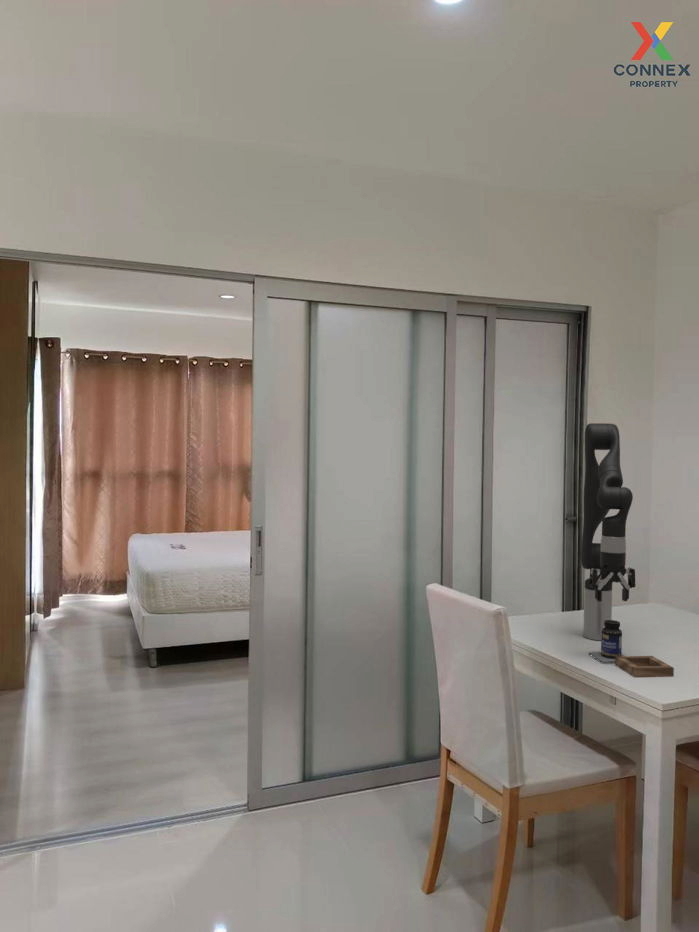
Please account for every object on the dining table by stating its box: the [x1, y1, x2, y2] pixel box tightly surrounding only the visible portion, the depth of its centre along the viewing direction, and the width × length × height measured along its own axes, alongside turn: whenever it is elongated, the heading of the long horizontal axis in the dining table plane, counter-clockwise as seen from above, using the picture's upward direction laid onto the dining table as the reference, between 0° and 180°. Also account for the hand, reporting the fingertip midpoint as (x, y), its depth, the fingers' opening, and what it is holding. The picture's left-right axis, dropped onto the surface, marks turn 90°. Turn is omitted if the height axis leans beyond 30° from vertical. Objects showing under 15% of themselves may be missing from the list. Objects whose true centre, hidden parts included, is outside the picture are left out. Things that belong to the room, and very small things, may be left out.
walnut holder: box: [614, 655, 675, 678], centre depth 216 cm, size 12×12×2 cm
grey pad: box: [588, 651, 626, 664], centre depth 228 cm, size 10×10×1 cm
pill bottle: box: [600, 619, 623, 659], centre depth 227 cm, size 6×6×11 cm
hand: (611, 601), depth 227 cm, fingers open, 8 cm apart
